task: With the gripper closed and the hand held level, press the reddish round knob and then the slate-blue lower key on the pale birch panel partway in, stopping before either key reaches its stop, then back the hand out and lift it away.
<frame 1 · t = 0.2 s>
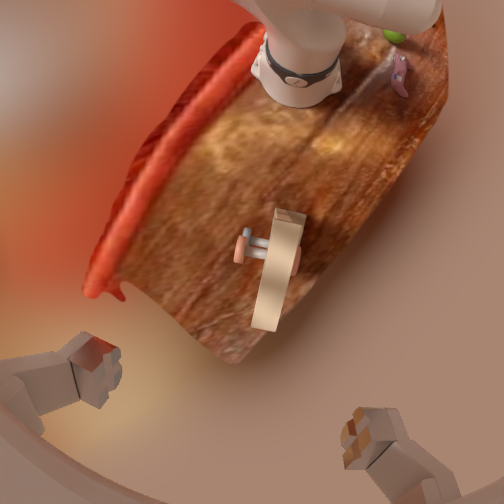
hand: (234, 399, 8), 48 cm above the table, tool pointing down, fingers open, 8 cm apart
snail figurine: (390, 37, 41), on the table
key panel: (274, 238, 55), on the table
reddish round knob: (267, 255, 40), point 15 cm above the table, slide at 0.0 cm
lower key: (268, 244, 48), point 7 cm above the table, slide at 0.0 cm
video game controller: (396, 78, 44), on the table
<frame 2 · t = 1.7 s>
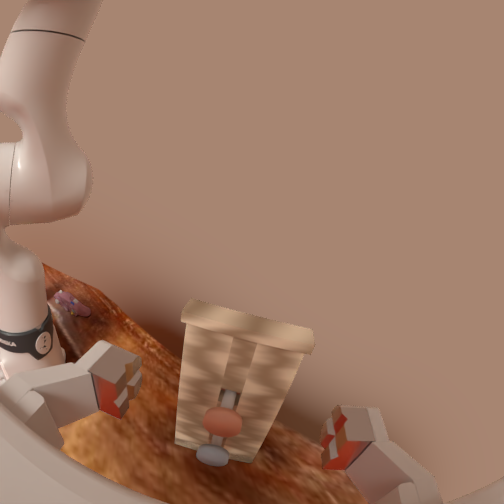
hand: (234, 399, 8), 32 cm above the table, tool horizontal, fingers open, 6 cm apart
key panel: (213, 450, 33), on the table
reddish round knob: (229, 398, 28), point 15 cm above the table, slide at 0.0 cm
lower key: (218, 433, 30), point 7 cm above the table, slide at 0.0 cm
video game controller: (72, 313, 55), on the table
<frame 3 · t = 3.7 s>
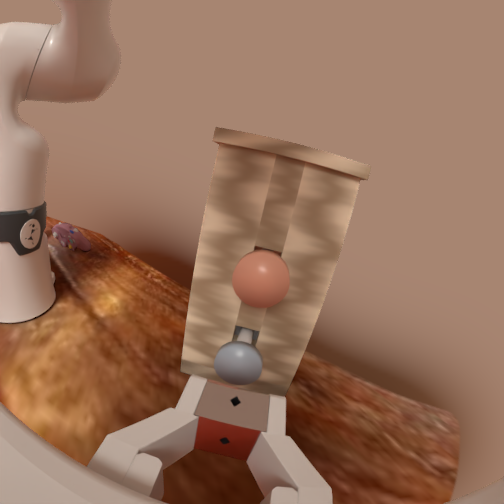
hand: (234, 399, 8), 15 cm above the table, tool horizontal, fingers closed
key panel: (233, 381, 28), on the table
reddish round knob: (265, 262, 23), point 15 cm above the table, slide at 0.0 cm
lower key: (244, 339, 25), point 7 cm above the table, slide at 0.0 cm
video game controller: (70, 248, 50), on the table
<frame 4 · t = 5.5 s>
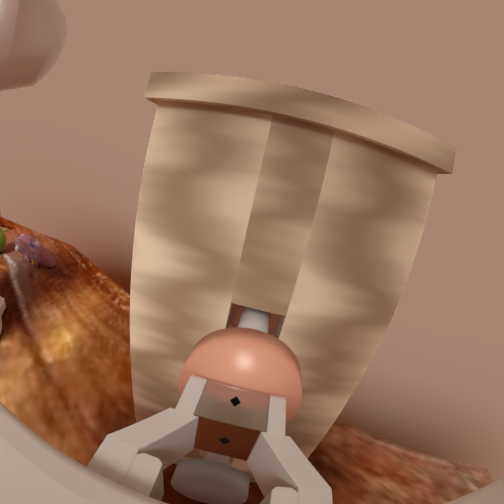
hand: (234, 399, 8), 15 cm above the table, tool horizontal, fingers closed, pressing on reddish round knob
key panel: (213, 465, 17), on the table
reddish round knob: (253, 328, 12), point 15 cm above the table, slide at 0.6 cm, touching gripper
lower key: (223, 434, 14), point 7 cm above the table, slide at 0.0 cm
video game controller: (34, 264, 39), on the table
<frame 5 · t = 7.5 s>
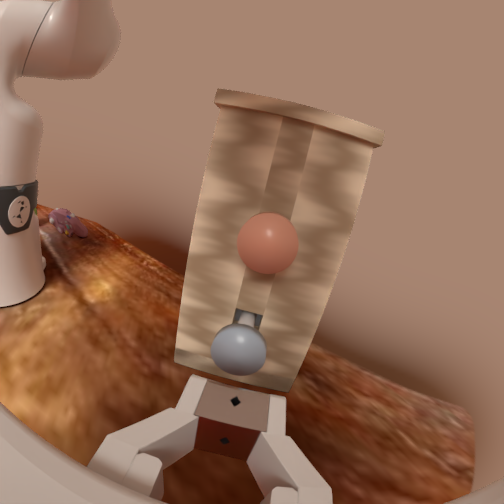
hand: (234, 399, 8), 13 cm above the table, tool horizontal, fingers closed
key panel: (232, 373, 26), on the table
reddish round knob: (270, 231, 22), point 15 cm above the table, slide at 1.4 cm
lower key: (246, 324, 23), point 7 cm above the table, slide at 0.0 cm
video game controller: (66, 235, 49), on the table
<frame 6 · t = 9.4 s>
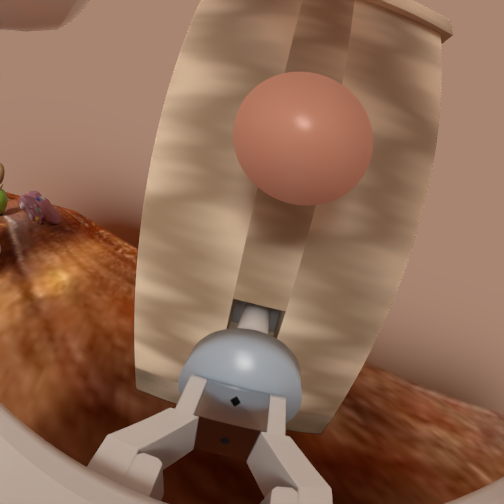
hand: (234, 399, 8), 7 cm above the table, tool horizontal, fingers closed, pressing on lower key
key panel: (230, 407, 15), on the table
reddish round knob: (296, 152, 11), point 15 cm above the table, slide at 1.4 cm
lower key: (253, 328, 12), point 7 cm above the table, slide at 0.1 cm, touching gripper
video game controller: (38, 222, 38), on the table
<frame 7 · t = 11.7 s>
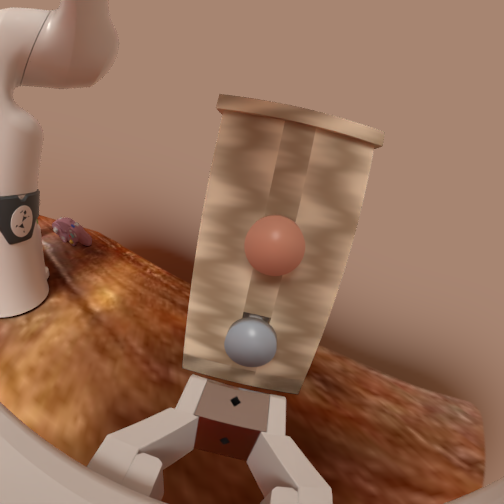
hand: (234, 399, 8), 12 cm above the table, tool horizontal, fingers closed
key panel: (241, 377, 26), on the table
reddish round knob: (276, 234, 22), point 15 cm above the table, slide at 1.4 cm
lower key: (255, 319, 24), point 7 cm above the table, slide at 1.4 cm
video game controller: (70, 244, 50), on the table
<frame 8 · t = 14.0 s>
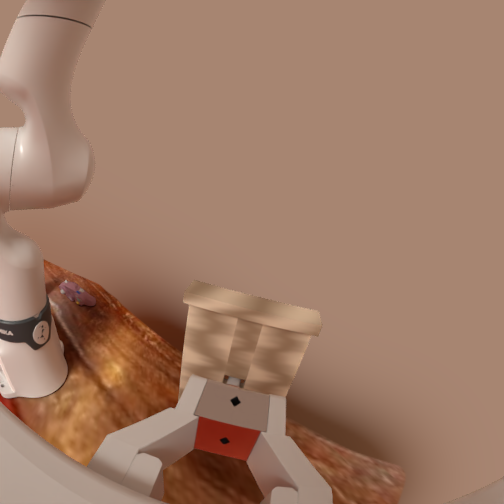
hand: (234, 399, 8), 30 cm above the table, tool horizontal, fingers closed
key panel: (216, 444, 32), on the table
reddish round knob: (234, 377, 29), point 15 cm above the table, slide at 1.4 cm
video game controller: (77, 303, 56), on the table
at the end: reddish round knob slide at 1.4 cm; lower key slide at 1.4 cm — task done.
